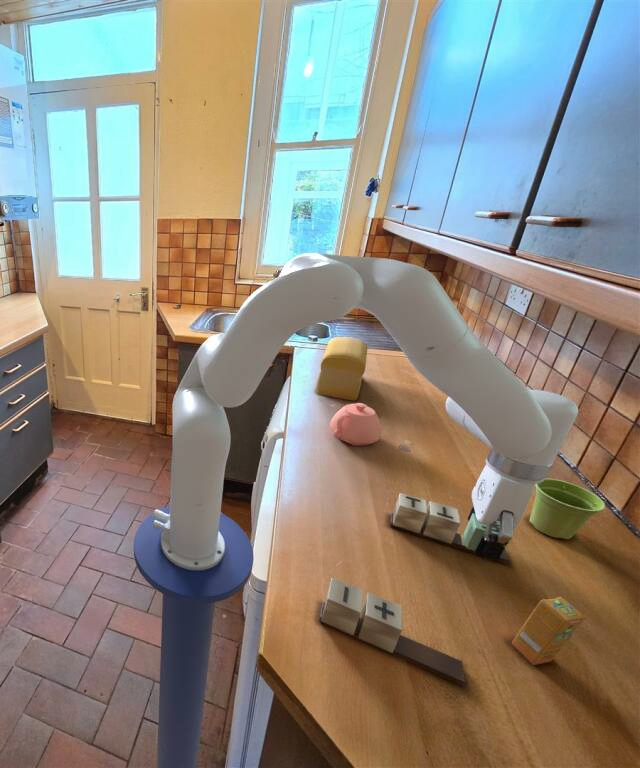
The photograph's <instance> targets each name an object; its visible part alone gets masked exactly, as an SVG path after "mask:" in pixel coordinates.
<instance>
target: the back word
mask: <svg viewBox="0 0 640 768" xmlns="http://www.w3.org/2000/svg"><path fill="white" fill-rule="evenodd" d="M389 519H390V520H389V527H391V528H394V529H396V530H400V531H403V532H406V533H409V534H412V535H415V536H418V537H421V538H425V539H428V540H430V541H434V542H437V543H440V544H443V545H446V546H449V547H452V548H456V549H459V550H461V551H465V552H468V553H470V554H474V555H475V551H474V550H470V549H467V548H466V542H465V537H464V534H463V533H462V534H461V533H457V532H458V530H459V527H460V525H461V521H460V515H459V510H458V508H456V507H451V506H448V505H445V504H441V503H438V502H434V501H432V500H430V501H429V503H428V504H427V500H426V499H423V498H420V497H417V496H413V495H409V494H406V493H403V492H399V494H398V497H397V500H396V503H395V505H394V509H393V511H392V513H391V514H390V518H389ZM497 562H499V563H502V564H505V565H507V564H508V562H509V557H508V553H507V550H506V547H505V548H504V550H503V552H502V554H501V556H500V558H499V560H498V561H497Z"/></svg>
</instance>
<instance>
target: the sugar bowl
mask: <svg viewBox="0 0 640 768" xmlns="http://www.w3.org/2000/svg"><path fill="white" fill-rule="evenodd" d="M381 424H382V423H381V422H380V419H379V417H378V415H377V412H376V411H375V410H374V409H373V408H372V407H370V406H367V405H366V404H365V403H362V402H355V403H348V404H346V405H344V406H343V407H342V408H340V409H339V410H338V411H336V413H335V414H334V415H333V417H332V418H331V420H330V424H329V428H330V430H331V432H332V436H333V437H334V438H338V439H340V440H341V441H343V442H345V443H348V444H350V445H351V446H354V447H357V446H368V445H372V444H374V443H376V442H377V441H379V440H380V438H381V436H382V425H381Z"/></svg>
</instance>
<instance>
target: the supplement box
mask: <svg viewBox="0 0 640 768" xmlns="http://www.w3.org/2000/svg"><path fill="white" fill-rule="evenodd" d="M585 620H586V616H584V615H583V613H581V611H579V610H578V609H577V608H576V607H574V606H573V605H572V604H571V603H569V602H568V601H567V600H566V599H565V598H563V597H562V596H557V597H556V598H551V599H541V600H540V601H539V602H538V603H537V604H536V606H535V608H534V609H533V610H532V612H531V614H530V615H529V616H528V618H527V619H526V620H525V622H524V624H523V625H522V626H521V628H520V629H519V631H518V632H517V634H516V635H515V636H514V638H513V640H512V642H511V645H512V646H513V647H514V648H515V649H516V650H517V651H518V652H519V653H520V654H521V655H522V656H523V657H524V658H525V659H526V660H527V661H528V662H529V663H530V664H531V665H533V666H537V665H540V664H546V663H550V662H552V661H553V660H554V659H555V657H556V656H557V655H558V653H559V652H560V651H561V650H562V649H563V647H564V646H565V644H566V643H567V642H568V641H569V640H570V639H571V637H572V636H573V635H574V633H575V632H576V631H577V629H578V628H579V627H580V625H581V624H582V623H583V622H584V621H585Z"/></svg>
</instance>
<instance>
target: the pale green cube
mask: <svg viewBox="0 0 640 768" xmlns="http://www.w3.org/2000/svg"><path fill="white" fill-rule="evenodd" d="M493 523H494V524H498V525H500V522H499V521H494V522H493ZM485 531H486V524H481V523H480V522H479V521H478V520H477V518H476V514H474V513H472V516H471V518H470V520H469V521H468V523H467V524H466V527H465V530H464V532H463V535H464V537H465V542H466V548H467V549H470V550H474V551H475V549H476V547H477V545H478V543H479V540H480V538H481V536H485ZM499 531H500V529H497V528H493V527H492V533H491V535H492V534H497V535H498V532H499Z"/></svg>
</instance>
